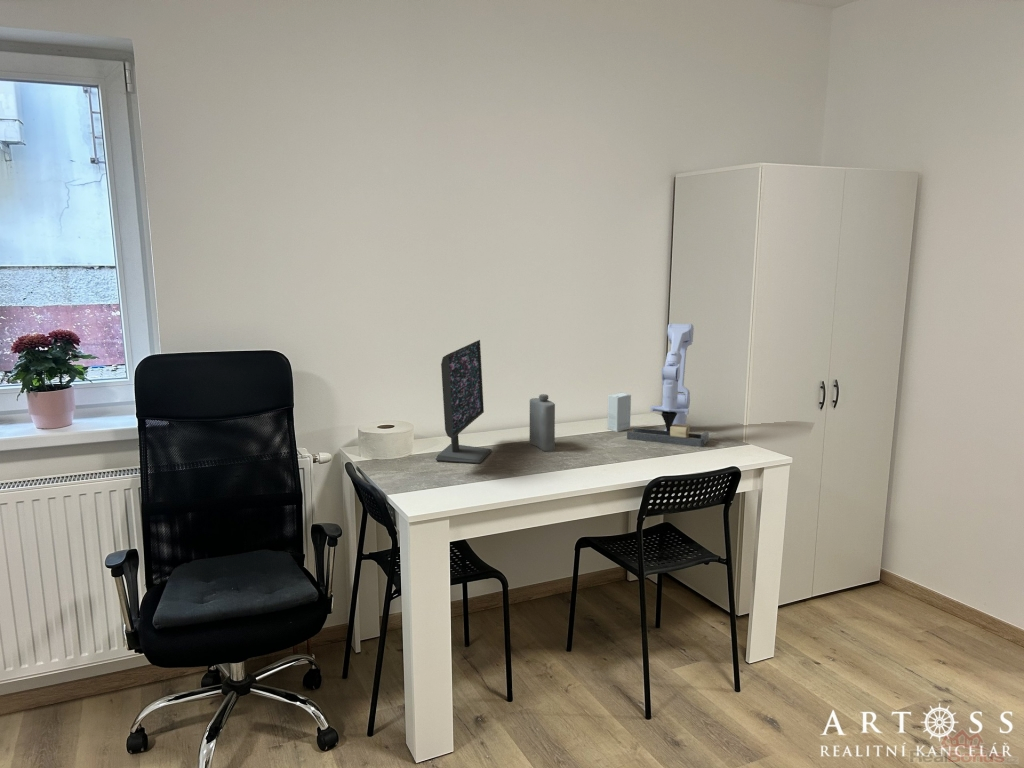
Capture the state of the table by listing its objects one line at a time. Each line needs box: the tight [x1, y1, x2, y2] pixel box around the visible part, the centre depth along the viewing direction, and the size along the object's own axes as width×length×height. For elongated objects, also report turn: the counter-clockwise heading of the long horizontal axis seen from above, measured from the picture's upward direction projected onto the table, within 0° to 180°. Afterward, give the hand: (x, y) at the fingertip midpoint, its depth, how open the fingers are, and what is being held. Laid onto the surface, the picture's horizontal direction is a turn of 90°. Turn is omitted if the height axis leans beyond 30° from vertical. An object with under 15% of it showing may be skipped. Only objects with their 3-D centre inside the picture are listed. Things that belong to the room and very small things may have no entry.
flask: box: [529, 393, 556, 452], centre depth 288 cm, size 15×6×20 cm, turn 24°
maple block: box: [670, 424, 690, 438], centre depth 297 cm, size 6×6×5 cm
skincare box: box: [606, 392, 632, 433], centre depth 317 cm, size 8×6×15 cm
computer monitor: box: [435, 339, 492, 464], centre depth 273 cm, size 44×16×40 cm, turn 168°
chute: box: [626, 427, 710, 448], centre depth 299 cm, size 9×30×4 cm, turn 64°
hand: (668, 430), depth 299 cm, fingers closed
